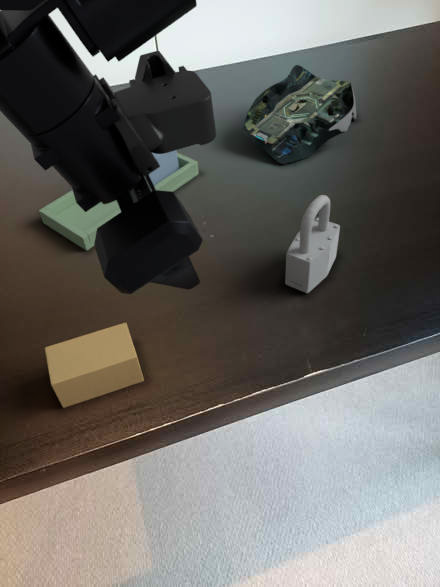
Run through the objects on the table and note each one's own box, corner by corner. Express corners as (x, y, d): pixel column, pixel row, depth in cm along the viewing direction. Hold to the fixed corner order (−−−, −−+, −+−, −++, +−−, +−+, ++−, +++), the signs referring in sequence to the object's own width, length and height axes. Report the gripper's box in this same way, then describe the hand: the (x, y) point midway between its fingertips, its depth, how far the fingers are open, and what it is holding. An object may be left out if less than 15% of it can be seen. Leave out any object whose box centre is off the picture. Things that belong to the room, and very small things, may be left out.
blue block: (138, 197, 72) (133, 172, 69) (116, 185, 74) (110, 160, 71) (179, 170, 76) (176, 145, 73) (157, 159, 78) (152, 135, 75)
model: (238, 164, 81) (321, 181, 74) (227, 110, 75) (317, 122, 68) (300, 102, 91) (378, 111, 84) (295, 50, 85) (379, 55, 78)
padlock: (310, 247, 64) (315, 177, 57) (340, 259, 62) (350, 188, 55) (280, 283, 60) (282, 213, 53) (312, 297, 58) (318, 226, 51)
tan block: (63, 408, 50) (50, 384, 47) (56, 371, 53) (44, 347, 51) (144, 381, 52) (137, 356, 49) (133, 347, 55) (126, 321, 52)
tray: (86, 251, 66) (82, 238, 64) (43, 222, 70) (38, 210, 69) (198, 174, 76) (197, 161, 74) (154, 153, 80) (152, 141, 79)
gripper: (216, 90, 26) (310, 268, 37) (128, -18, 38) (219, 141, 50) (32, 216, 27) (179, 350, 39) (4, 72, 39) (122, 206, 51)
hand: (177, 248), depth 44 cm, fingers open, 9 cm apart
